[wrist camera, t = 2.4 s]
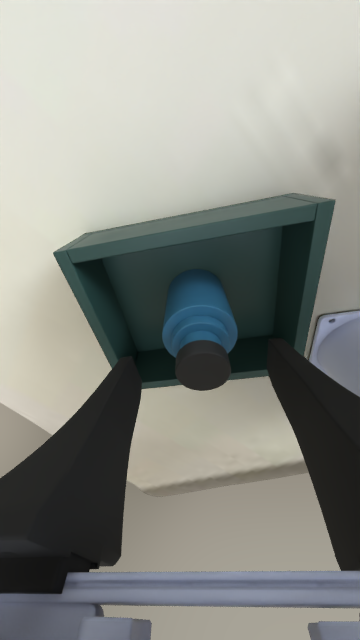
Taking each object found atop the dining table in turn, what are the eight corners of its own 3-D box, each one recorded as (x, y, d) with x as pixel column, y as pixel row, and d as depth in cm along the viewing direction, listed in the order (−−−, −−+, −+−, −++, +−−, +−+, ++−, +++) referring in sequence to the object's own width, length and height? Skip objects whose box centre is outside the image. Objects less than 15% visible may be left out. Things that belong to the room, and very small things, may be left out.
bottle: (221, 264, 16) (250, 331, 9) (225, 314, 18) (249, 397, 12) (162, 273, 16) (146, 344, 10) (173, 321, 19) (167, 404, 12)
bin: (294, 192, 14) (336, 199, 10) (278, 336, 20) (300, 373, 17) (84, 233, 15) (51, 252, 12) (133, 354, 22) (123, 391, 18)
